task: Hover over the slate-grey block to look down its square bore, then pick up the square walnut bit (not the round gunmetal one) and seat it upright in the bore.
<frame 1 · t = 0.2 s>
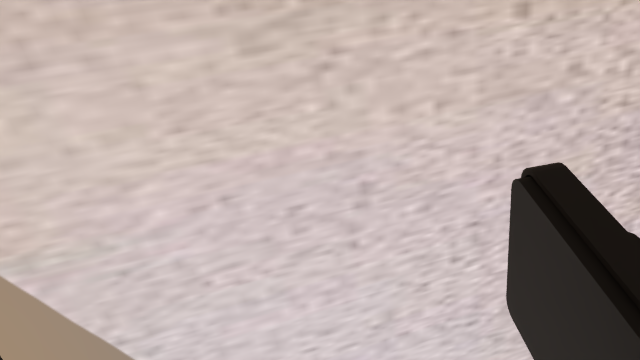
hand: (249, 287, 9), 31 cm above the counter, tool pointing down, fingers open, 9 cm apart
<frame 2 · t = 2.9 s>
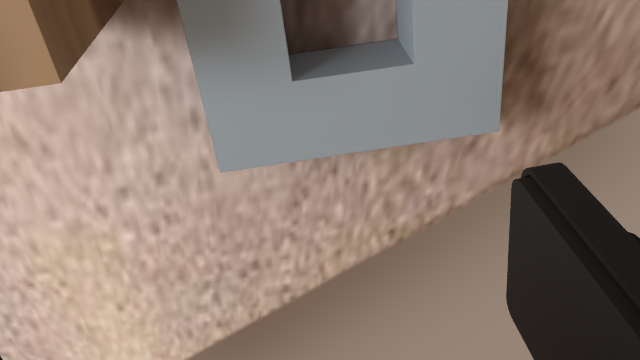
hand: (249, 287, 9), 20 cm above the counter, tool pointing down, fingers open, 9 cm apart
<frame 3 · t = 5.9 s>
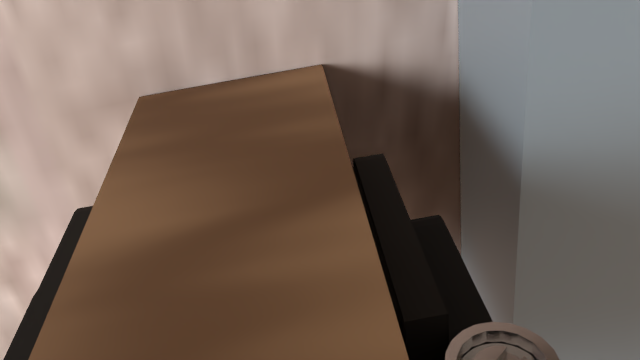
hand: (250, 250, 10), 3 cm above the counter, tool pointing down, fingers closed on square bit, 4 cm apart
square bit: (250, 159, 13), on the counter, touching gripper
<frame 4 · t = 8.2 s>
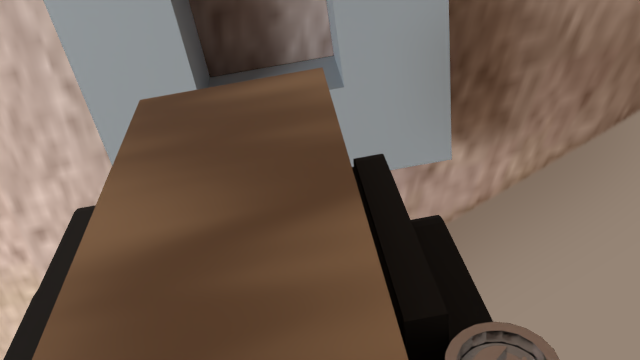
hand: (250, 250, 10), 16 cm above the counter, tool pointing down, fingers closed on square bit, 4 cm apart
square bit: (250, 161, 13), point 12 cm above the counter, touching gripper
socket block: (258, 3, 23), on the counter
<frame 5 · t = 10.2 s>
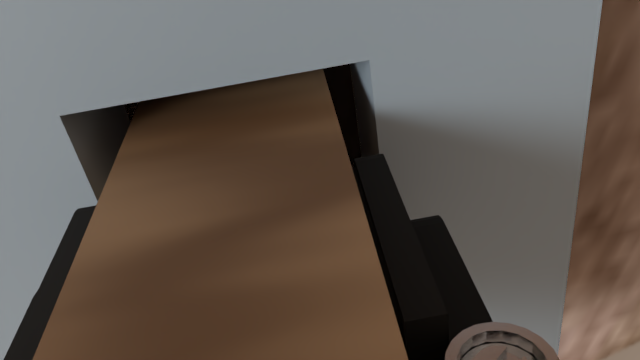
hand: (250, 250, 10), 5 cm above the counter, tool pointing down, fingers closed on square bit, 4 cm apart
square bit: (250, 161, 13), point 1 cm above the counter, touching gripper
socket block: (249, 135, 14), on the counter
when the fingers open (5 cm above the counter, at t = 10.6 s): square bit drops 1 cm, resting in socket block.
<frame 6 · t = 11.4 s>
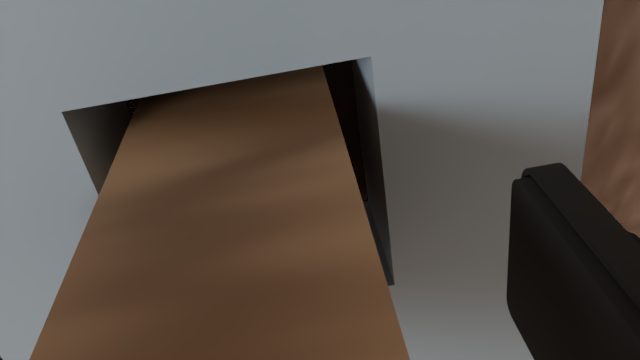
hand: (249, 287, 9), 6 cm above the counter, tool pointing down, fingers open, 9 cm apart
square bit: (252, 129, 14), resting in socket block
socket block: (250, 132, 14), on the counter
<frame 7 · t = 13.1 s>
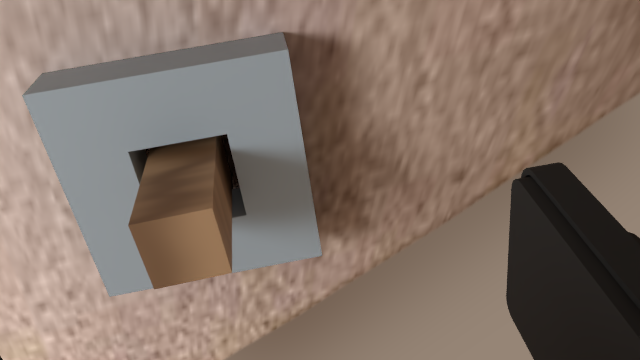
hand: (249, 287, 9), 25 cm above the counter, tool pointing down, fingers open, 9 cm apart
square bit: (194, 156, 36), resting in socket block
socket block: (193, 157, 36), on the counter
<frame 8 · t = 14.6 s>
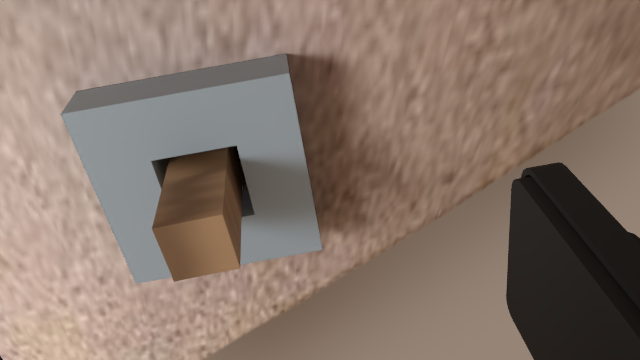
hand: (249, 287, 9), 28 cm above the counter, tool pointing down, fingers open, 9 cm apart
square bit: (208, 161, 40), resting in socket block
socket block: (208, 162, 40), on the counter
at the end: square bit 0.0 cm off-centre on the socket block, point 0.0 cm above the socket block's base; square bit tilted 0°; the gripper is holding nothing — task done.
